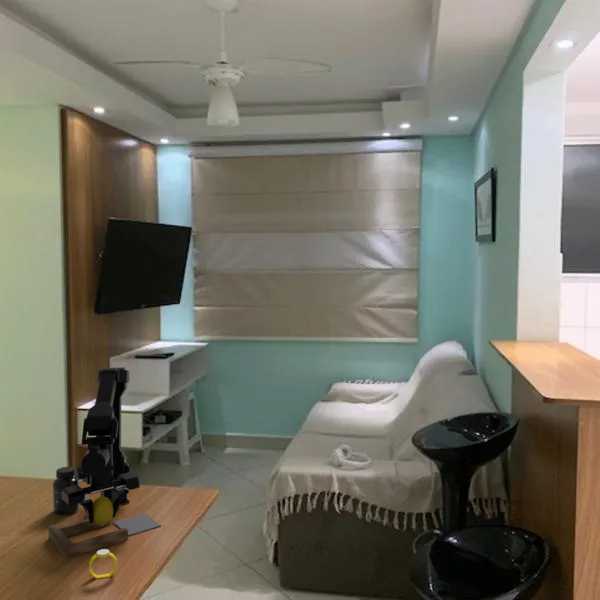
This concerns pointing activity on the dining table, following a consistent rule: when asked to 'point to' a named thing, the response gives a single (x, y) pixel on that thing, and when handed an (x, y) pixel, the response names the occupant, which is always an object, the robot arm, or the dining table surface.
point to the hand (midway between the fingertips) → (102, 519)
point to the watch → (102, 554)
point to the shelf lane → (72, 549)
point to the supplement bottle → (63, 480)
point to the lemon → (102, 510)
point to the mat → (137, 524)
